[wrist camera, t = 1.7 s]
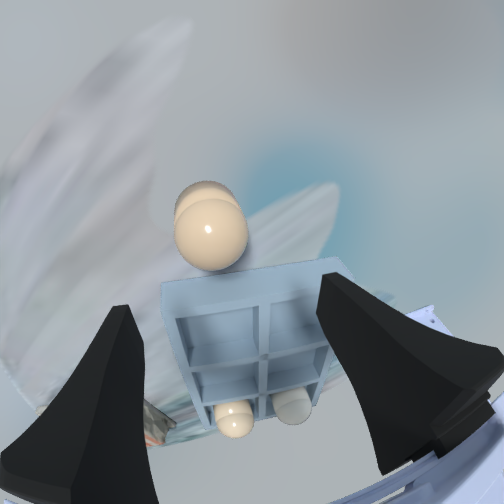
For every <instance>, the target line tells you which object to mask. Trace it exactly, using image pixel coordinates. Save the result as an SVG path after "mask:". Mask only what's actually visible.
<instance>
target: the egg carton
mask: <svg viewBox="0 0 504 504" xmlns="http://www.w3.org/2000/svg"><path fill="white" fill-rule="evenodd" d="M333 272H338V273H339V274H341V275H343V276H344V277H346V278H347V279H349V280H350V281H352V282H353V283H354V280H355V278H354V276H353V275H352V274H351V273H350V271H349V270H348V269H347V268H346V267H345V266H344V264H343V263H342V262H341V261H340V259H339V258H338V257H337V256H335V257H329V258H323V259H317V260H310V261H304V262H298V263H292V264H285V265H279V266H273V267H266V268H260V269H253V270H247V271H240V272H233V273H227V274H220V275H213V276H206V277H199V278H192V279H185V280H178V281H171V282H164V283H161V310H160V312H161V315H162V318H163V321H164V324H165V327H166V330H167V333H168V336H169V339H170V342H171V345H172V348H173V351H174V354H175V357H176V359H177V362H178V365H179V368H180V370H181V373H182V376H183V378H184V381H185V383H186V386H187V389H188V391H189V394H190V396H191V398H192V401H193V403H194V406H195V408H196V410H197V413H198V415H199V417H200V420H201V422H202V424H203V427H204V429H205V430H208V429H215V428H217V425H216V421H215V416H214V410H213V405H217V404H223V403H229V402H235V401H240V400H245V399H249V403H250V406H251V410H252V413H253V417H254V421H259V420H263V419H268V418H272V417H276V416H277V415H276V413H275V410H274V407H273V404H272V401H271V398H270V395H269V394H274V393H278V392H282V391H286V390H290V389H294V388H298V387H301V386H305V389H306V391H307V393H308V396H309V398H310V400H311V403H312V407H313V406H316V404H317V401H318V398H319V396H320V393H321V391H322V388H323V385H324V382H325V379H326V376H327V373H328V371H329V368H330V365H331V362H332V359H333V355H334V351H333V349H332V348H331V346H330V344H329V342H328V340H327V339H326V337H325V335H324V333H323V330H322V328H321V325H320V323H319V320H318V318H317V315H316V309H317V303H318V298H319V292H320V286H321V280H322V274H327V273H333Z"/></svg>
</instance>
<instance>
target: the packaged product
mask: <svg viewBox="0 0 504 504" xmlns="http://www.w3.org/2000/svg"><path fill="white" fill-rule="evenodd" d="M48 406H49V405H46V406H39V407H37V410H36V412H35V413H36V414H37V415H38V416H40V415H41V414H42V413H43V412H44V410H45V409H46V408H47V407H48ZM143 421H144V434H145V441H146V447H149V446H155V445H161V444H164V443H165V437H166V435H167V432H168V430H169V429H168V428H172V427H176V424H175V422H174V421H173V420H171V419H170V418H168V417H167V416H166V415H164V414H163V413H162V412H160V411H159V410H158V409H156V408H155V407H153V406H152V405H151V404H150V403H148V402H147V401H146V400H145V399H144V408H143Z"/></svg>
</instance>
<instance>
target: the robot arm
mask: <svg viewBox="0 0 504 504" xmlns="http://www.w3.org/2000/svg"><path fill="white" fill-rule="evenodd" d="M433 309H434V306H433V305H429V306H426V307H424V308H421V309H418V310H416V311H413V312H410V313H407V314H402V313H400V312H399V311H397V310H395V309H394V308H392V307H390V306H389V305H387V304H385V303H384V302H382V301H381V300H379V299H377V298H376V297H374V296H373V295H371V294H370V293H368V292H367V291H365V290H364V289H362V288H361V287H359V286H358V285H356V284H355V283H353V282H352V281H350V280H349V279H347V278H346V277H344V276H343V275H341V274H339V273H338V272H333V273H327V274H322V280H321V286H320V292H319V298H318V303H317V309H316V315H317V318H318V320H319V323H320V325H321V328H322V330H323V333H324V335H325V337H326V339H327V340H328V342H329V344H330V346H331V348H332V349H333V351H334V353H335V355H336V356H337V358H338V360H339V362H340V363H341V365H342V367H343V369H344V371H345V372H346V374H347V376H348V378H349V380H350V381H351V384H352V386H353V388H354V390H355V393H356V395H357V398H358V400H359V403H360V405H361V408H362V411H363V414H364V416H365V419H366V422H367V425H368V428H369V432H370V435H371V438H372V442H373V446H374V450H375V454H376V458H377V463H378V468H379V470H380V471H381V474H382V475H383V476H384V475H386V474H388V473H390V472H391V471H393V470H395V469H397V468H399V467H401V466H402V465H404V464H406V463H408V462H409V461H411V460H412V461H413V464H411V465H409V466H407V467H406V468H404V469H402V470H400V471H398V472H397V473H395V474H393V475H391V476H389V477H387V478H385V479H383V480H382V481H379V482H377V483H375V484H373V485H371V486H369V487H367V488H365V489H362V490H360V491H358V492H356V493H353V494H351V495H349V496H346V497H344V498H341V499H339V500H336V501H333V502H331V503H328V504H371V503H373V502H375V501H377V500H379V499H381V498H383V497H385V496H387V495H389V494H391V493H393V492H395V491H396V490H398V489H400V488H402V487H404V486H405V485H406V486H405V490H404V492H402V493H400V494H398V495H396V496H393V497H391V498H389V499H387V500H385V501H383V502H381V503H379V504H504V472H503V469H504V392H503V393H502V394H501V395H500V396H498V397H497V398H496V400H494V401H493V402H492V403H491V401H490V400H489V398H490V394H489V392H488V391H487V390H488V389H489V388H490V387H491V386H492V385H493V384H494V383H495V382H496V380H497V379H498V378H499V377H500V376H501V375H502V373H503V372H504V355H503V354H502V353H501V352H500V350H499V349H498V348H496V347H491V346H486V345H481V344H476V343H472V342H468V341H465V340H462V339H459V338H455V337H454V336H453V335H452V334H451V333H450V332H449V331H448V329H447V328H446V327H445V326H444V325H443V323H442V322H441V321H440V320H439V319H438V318H437V316H436V315H435V314H434V313H433V312H432V311H433ZM144 377H145V358H144V342H143V340H142V337H141V335H140V332H139V330H138V328H137V325H136V323H135V320H134V318H133V315H132V313H131V310H130V307H129V305H119V306H113V307H112V308H111V310H110V312H109V313H108V315H107V317H106V318H105V320H104V322H103V324H102V325H101V327H100V329H99V331H98V332H97V334H96V336H95V337H94V339H93V341H92V343H91V344H90V346H89V348H88V349H87V351H86V353H85V354H84V356H83V358H82V359H81V361H80V362H79V364H78V366H77V367H76V369H75V370H74V372H73V373H72V375H71V376H70V378H69V379H68V381H67V382H66V384H65V385H64V386H63V388H62V389H61V391H60V392H59V393H58V395H57V396H56V397H55V398H54V400H53V401H52V402H51V403H50V404H49V406H48V407H47V408H46V409H45V410H44V412H43V413H42V414H41V415H40V416H39V417H38V418H37V420H36V421H35V422H34V423H33V424H32V425H31V426H30V427H29V428H28V429H27V430H26V431H25V432H24V433H23V434H22V435H21V436H20V437H19V438H17V439H16V440H15V441H14V442H13V443H12V444H10V445H9V446H8V447H7V448H6V449H5V450H3V451H2V452H1V455H0V488H1V489H2V490H4V491H6V492H8V493H10V494H12V495H15V496H17V497H19V498H21V499H24V500H26V501H29V502H31V503H34V504H159V502H158V498H157V495H156V492H155V488H154V484H153V479H152V475H151V471H150V466H149V461H148V455H147V449H146V441H145V434H144V421H143V408H144ZM4 504H17V503H15V502H12V501H9V500H7V499H5V500H4Z"/></svg>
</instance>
